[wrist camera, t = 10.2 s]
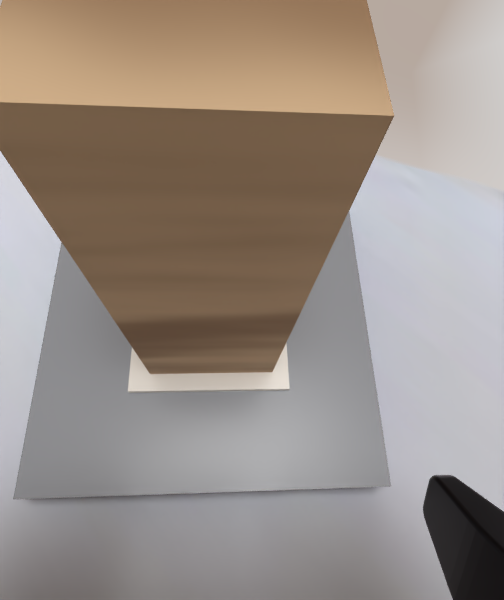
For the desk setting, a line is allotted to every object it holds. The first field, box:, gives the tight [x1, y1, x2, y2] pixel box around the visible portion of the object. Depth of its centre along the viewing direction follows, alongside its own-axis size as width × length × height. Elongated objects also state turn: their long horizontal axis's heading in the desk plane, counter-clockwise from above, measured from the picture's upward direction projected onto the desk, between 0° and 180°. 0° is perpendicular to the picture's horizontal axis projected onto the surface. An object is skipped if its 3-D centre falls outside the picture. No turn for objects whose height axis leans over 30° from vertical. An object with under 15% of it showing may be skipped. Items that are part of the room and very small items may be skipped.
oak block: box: [0, 0, 394, 374], centre depth 12 cm, size 5×5×13 cm
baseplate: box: [13, 212, 391, 499], centre depth 18 cm, size 14×14×2 cm
